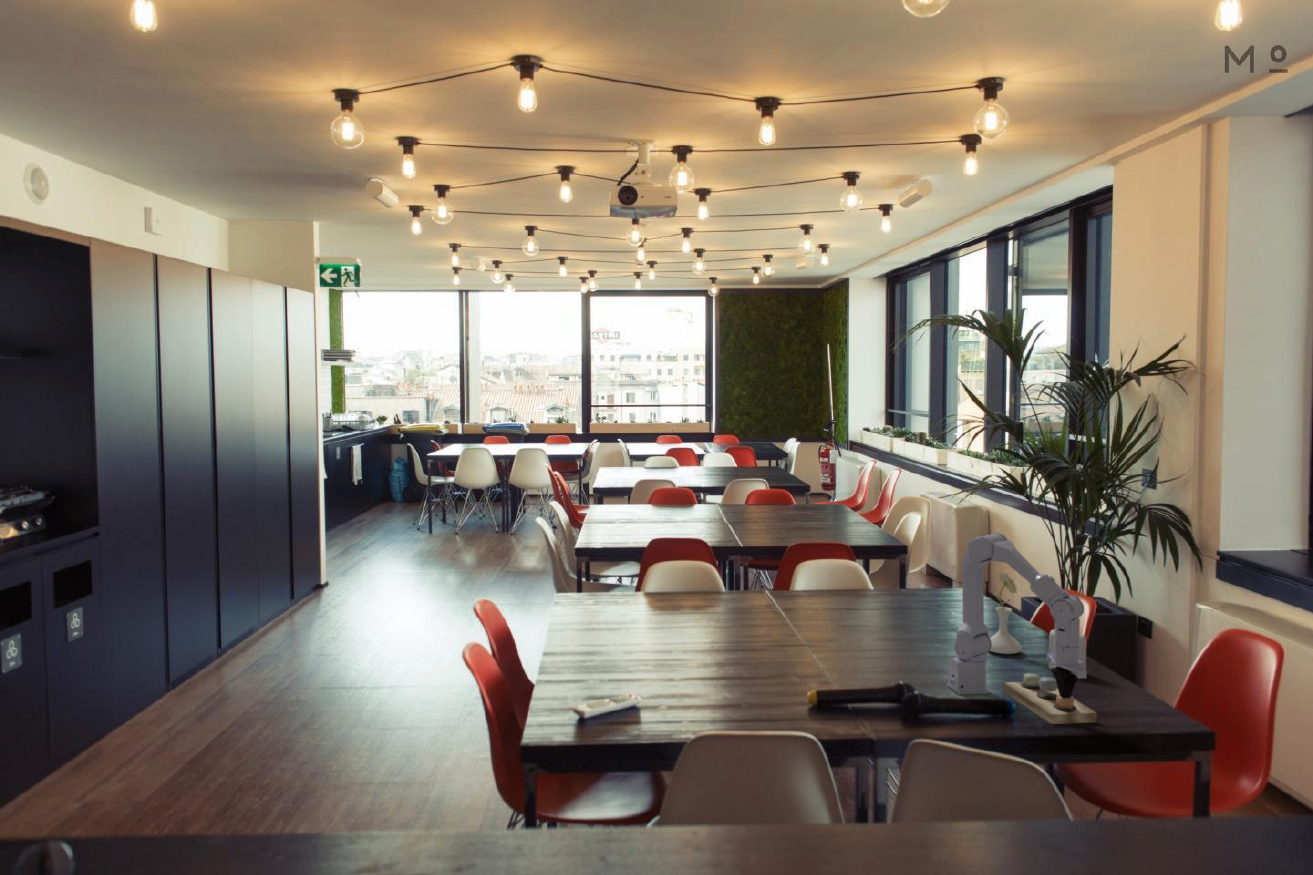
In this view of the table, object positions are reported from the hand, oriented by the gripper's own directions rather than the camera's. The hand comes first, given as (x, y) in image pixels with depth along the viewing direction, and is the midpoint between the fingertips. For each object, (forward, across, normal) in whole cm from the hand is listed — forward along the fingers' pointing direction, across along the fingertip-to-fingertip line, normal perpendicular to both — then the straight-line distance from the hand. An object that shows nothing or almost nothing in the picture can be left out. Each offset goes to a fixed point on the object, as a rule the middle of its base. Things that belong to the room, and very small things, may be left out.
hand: (1065, 697), depth 224 cm
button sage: (+2, +16, 0) cm, 16 cm away
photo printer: (+5, +34, -21) cm, 40 cm away
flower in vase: (+5, +55, -12) cm, 57 cm away
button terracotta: (+2, 0, 0) cm, 2 cm away
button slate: (0, +8, 0) cm, 8 cm away
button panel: (+5, +8, 0) cm, 10 cm away
